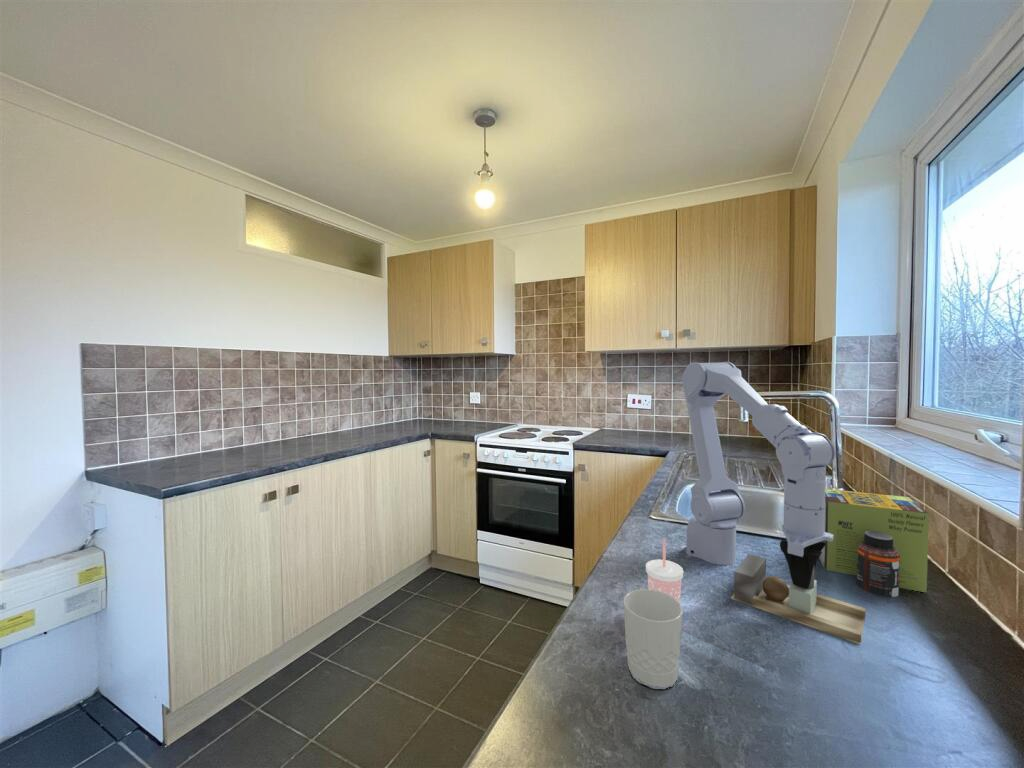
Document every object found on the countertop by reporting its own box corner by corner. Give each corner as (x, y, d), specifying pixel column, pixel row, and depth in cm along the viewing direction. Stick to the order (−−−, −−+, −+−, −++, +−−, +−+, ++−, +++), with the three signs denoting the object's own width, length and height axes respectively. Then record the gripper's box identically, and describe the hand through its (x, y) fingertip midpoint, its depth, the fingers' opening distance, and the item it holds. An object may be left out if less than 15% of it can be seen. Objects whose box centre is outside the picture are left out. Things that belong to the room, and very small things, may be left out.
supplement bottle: (907, 605, 73) (909, 543, 72) (869, 601, 74) (871, 540, 74) (884, 586, 79) (886, 529, 78) (849, 584, 80) (850, 527, 79)
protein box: (928, 594, 76) (931, 513, 75) (825, 575, 83) (827, 501, 83) (906, 569, 85) (909, 496, 84) (816, 554, 92) (817, 487, 92)
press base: (730, 604, 74) (730, 571, 74) (746, 582, 81) (746, 552, 81) (860, 652, 61) (861, 612, 61) (865, 621, 69) (866, 585, 68)
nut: (759, 599, 73) (760, 577, 73) (765, 590, 76) (765, 569, 76) (786, 608, 70) (786, 586, 70) (790, 598, 73) (791, 577, 73)
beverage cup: (648, 604, 74) (648, 529, 74) (684, 613, 72) (684, 535, 71) (643, 624, 69) (642, 543, 68) (682, 634, 66) (682, 549, 66)
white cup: (640, 645, 64) (640, 583, 63) (691, 671, 58) (691, 603, 58) (613, 672, 58) (612, 604, 58) (666, 704, 53) (666, 629, 52)
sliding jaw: (788, 610, 69) (789, 564, 69) (795, 596, 74) (796, 552, 73) (810, 618, 67) (811, 571, 67) (816, 602, 72) (817, 558, 71)
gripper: (827, 522, 62) (825, 609, 62) (839, 498, 72) (837, 573, 73) (773, 511, 67) (772, 592, 67) (791, 490, 77) (790, 560, 78)
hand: (802, 581), depth 70 cm, fingers closed on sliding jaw, 3 cm apart
